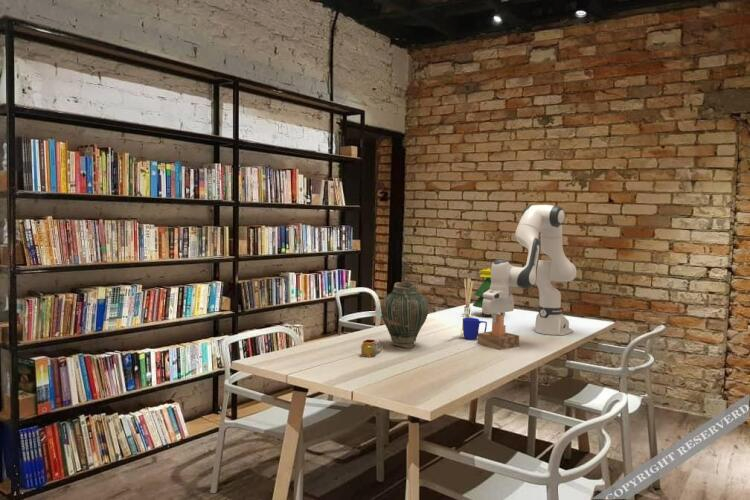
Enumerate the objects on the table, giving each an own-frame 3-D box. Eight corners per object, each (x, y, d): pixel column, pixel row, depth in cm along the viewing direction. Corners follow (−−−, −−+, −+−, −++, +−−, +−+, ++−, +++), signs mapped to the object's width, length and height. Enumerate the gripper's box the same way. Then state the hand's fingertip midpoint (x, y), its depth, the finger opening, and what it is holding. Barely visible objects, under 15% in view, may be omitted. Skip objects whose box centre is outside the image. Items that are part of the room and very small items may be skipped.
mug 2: (486, 341, 280) (487, 321, 279) (461, 339, 283) (462, 320, 282) (486, 337, 288) (487, 318, 288) (462, 336, 291) (463, 317, 290)
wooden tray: (495, 340, 284) (496, 330, 283) (518, 345, 273) (519, 335, 273) (477, 343, 275) (477, 333, 274) (500, 349, 264) (500, 339, 264)
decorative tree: (496, 320, 338) (499, 270, 335) (467, 316, 348) (469, 267, 346) (508, 315, 354) (510, 267, 352) (479, 311, 364) (481, 265, 362)
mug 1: (368, 358, 243) (368, 343, 242) (357, 355, 248) (358, 340, 247) (388, 354, 251) (388, 339, 250) (378, 351, 256) (378, 336, 255)
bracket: (497, 335, 277) (498, 313, 276) (504, 337, 273) (506, 315, 272) (491, 336, 274) (492, 314, 273) (499, 338, 270) (500, 316, 270)
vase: (396, 338, 282) (398, 278, 280) (435, 345, 270) (437, 282, 268) (370, 346, 264) (372, 282, 262) (411, 354, 252) (413, 287, 249)
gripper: (507, 291, 281) (506, 318, 281) (480, 294, 268) (479, 322, 268) (517, 292, 276) (516, 320, 277) (490, 295, 263) (489, 325, 264)
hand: (497, 321), depth 272 cm, fingers closed on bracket, 3 cm apart
